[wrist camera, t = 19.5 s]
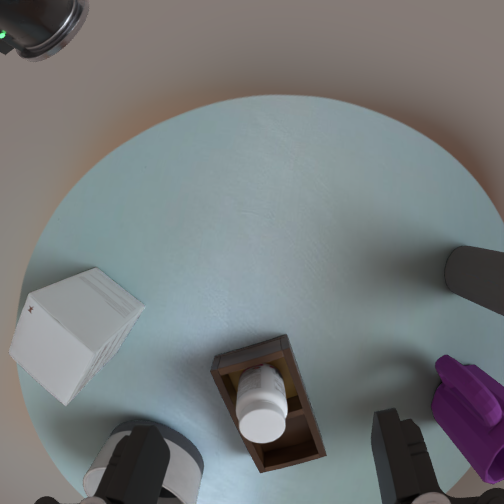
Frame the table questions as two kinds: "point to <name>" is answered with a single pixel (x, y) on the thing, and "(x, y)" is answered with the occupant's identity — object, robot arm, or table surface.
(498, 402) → the mug
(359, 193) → the table surface
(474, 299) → the bottle
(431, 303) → the table surface
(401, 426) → the robot arm
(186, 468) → the planter
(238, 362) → the divided wooden box
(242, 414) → the pill bottle
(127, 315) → the white packaging box
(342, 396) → the table surface
